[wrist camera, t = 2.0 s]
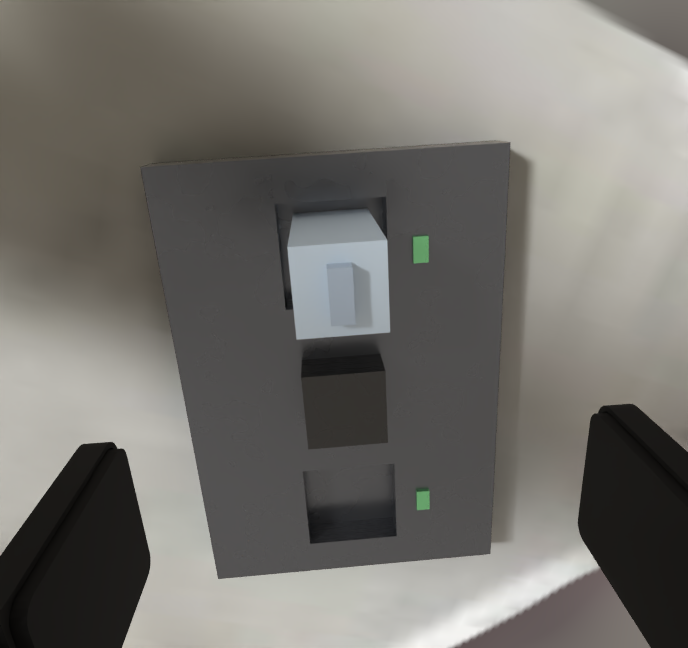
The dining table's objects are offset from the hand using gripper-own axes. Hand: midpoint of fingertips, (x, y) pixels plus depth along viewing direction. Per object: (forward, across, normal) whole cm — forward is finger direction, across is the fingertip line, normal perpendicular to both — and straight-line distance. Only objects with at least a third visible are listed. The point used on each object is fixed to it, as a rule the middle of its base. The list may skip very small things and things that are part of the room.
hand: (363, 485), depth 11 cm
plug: (+20, 0, 0) cm, 20 cm away
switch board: (+21, 0, +8) cm, 22 cm away
